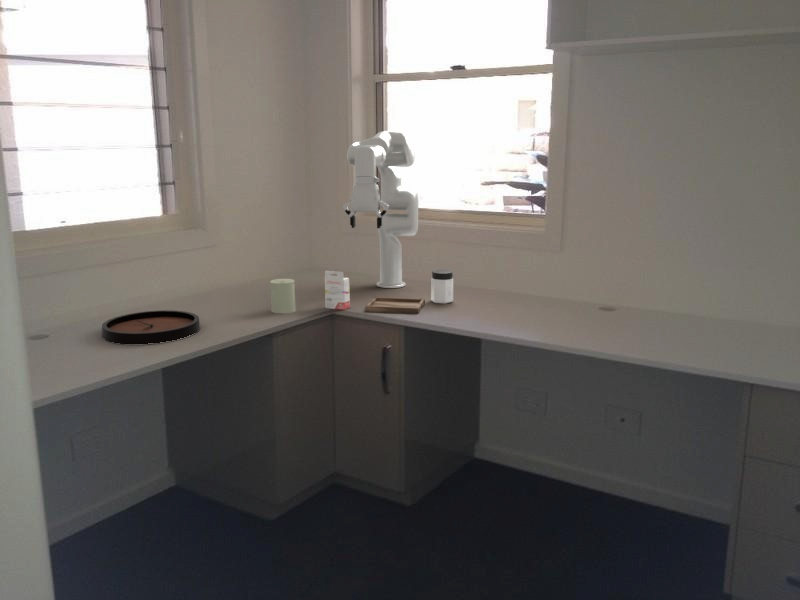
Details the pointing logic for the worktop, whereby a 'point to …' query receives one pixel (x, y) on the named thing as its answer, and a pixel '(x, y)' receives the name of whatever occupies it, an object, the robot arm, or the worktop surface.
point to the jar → (442, 286)
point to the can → (282, 296)
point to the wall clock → (150, 327)
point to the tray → (395, 305)
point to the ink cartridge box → (336, 291)
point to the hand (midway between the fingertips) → (366, 227)
